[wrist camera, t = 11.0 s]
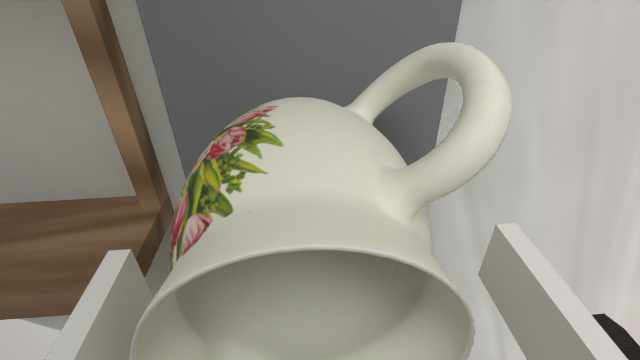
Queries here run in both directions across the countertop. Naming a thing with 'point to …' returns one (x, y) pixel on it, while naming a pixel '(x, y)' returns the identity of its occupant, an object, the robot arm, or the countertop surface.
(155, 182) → the walnut cradle
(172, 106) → the rubber mat
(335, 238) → the pitcher
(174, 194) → the countertop surface
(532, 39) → the countertop surface
